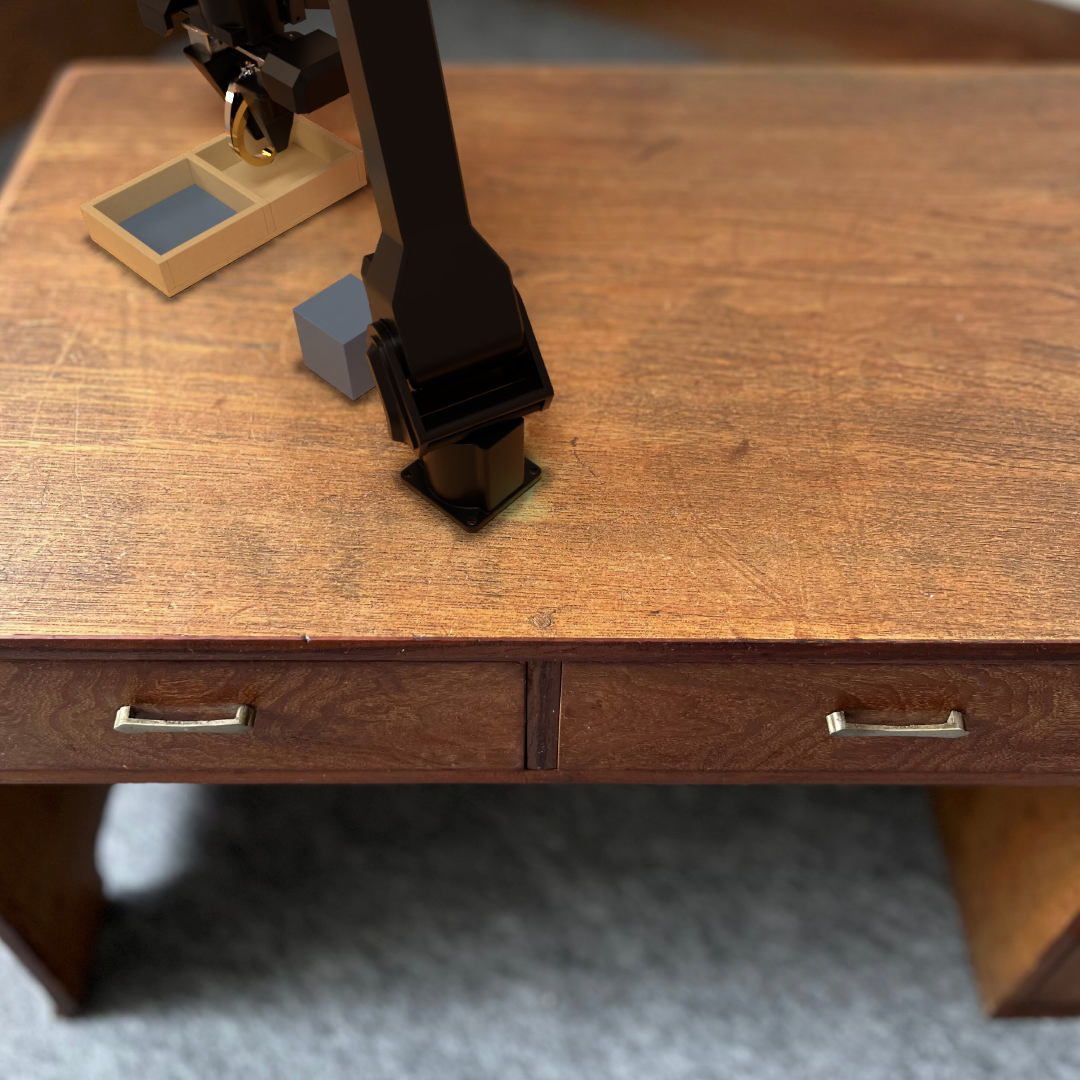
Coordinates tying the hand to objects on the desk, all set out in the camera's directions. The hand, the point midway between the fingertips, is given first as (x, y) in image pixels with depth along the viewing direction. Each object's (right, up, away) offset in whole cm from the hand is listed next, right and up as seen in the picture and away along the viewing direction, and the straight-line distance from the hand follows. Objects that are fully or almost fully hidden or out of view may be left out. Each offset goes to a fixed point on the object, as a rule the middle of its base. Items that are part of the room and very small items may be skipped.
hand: (270, 144), depth 83 cm
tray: (-3, -5, +1) cm, 6 cm away
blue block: (+8, -19, -9) cm, 22 cm away
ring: (0, -1, +1) cm, 2 cm away
